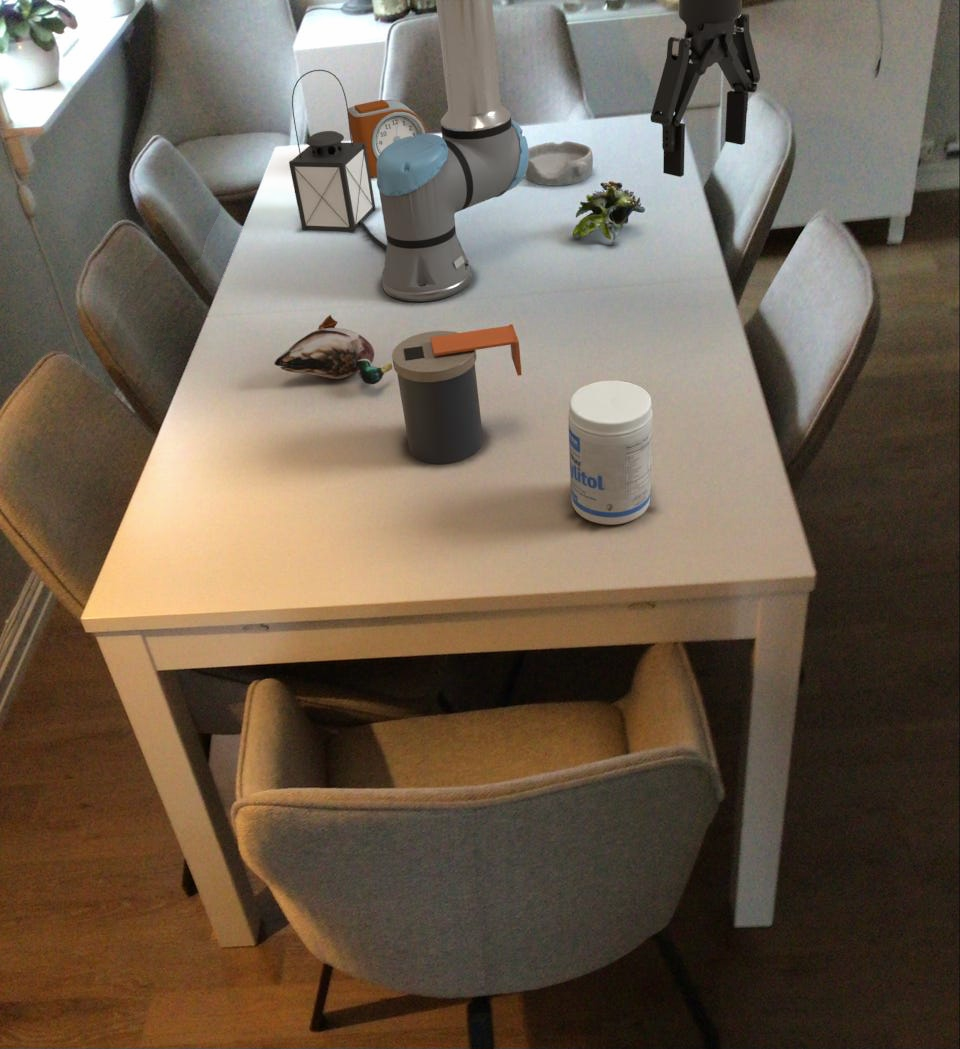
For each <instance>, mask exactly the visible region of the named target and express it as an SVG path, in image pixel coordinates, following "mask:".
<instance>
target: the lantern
mask: <svg viewBox="0 0 960 1049" xmlns="http://www.w3.org/2000/svg"><path fill="white" fill-rule="evenodd" d="M313 72H326V73H329V74H330V75H332V76H333V77H334V78H335V79H336V80H337V82H338V83H339V85H340V87H341V89H342V92H343V96H344V101H345V105H346V112H347V120H348V130H349V137H350V138H349V139H350V142H343V141H344V139H345V136H344V135H343V134H342V133H340V132H338V131H335V130H324V131H319V132H316V133H313V134H311V136H309V137H308V138H307V140H306V145H308V146H307V147H306V148H305V149H304V150H302V151H301V148H300V143H299V142H300V141H299V137H298V136H299V135H298V131H297V124H296V118H295V113H294V111H295V110H294V94H295V90H296V87H297V85H298V83H299V82H300V80H301V79H302V78H303V77H305V76H306V75H308V74H311V73H313ZM348 109H349V106H348V100H347V97H346V92H345V89H344V87H343V85H342V83H341V80H340V79H339V78H338V77H337V76H336V75H335V74H334V73H333V72H331V71H329V70H325V69H314V70H313V69H312V70H310V71H307V72H305V73H304V74H302V75H301V76H300V77H299V78H298V79H297V80H296V82H295V84H294V86H293V90H292V95H291V110H292V118H293V124H294V130H295V137H296V141H297V146H298V155H297V156H295V157H294V158H293V159H291V160H289V161H288V166H289V170H290V175H291V180H292V184H293V185H292V186H293V189H294V194H295V199H296V205H297V208H298V214H299V219H300V226H301V229H302V231H322V232H323V231H325V232H328V231H329V232H350V233H355V232H356V231H357V229H358V228H359V227H361V226H360V224H359V221H360V220H361V221H362V222H363V223H364V222H365V221H366V219H368V218H369V217H370V216H371V214H372V213H373V212H375V211H376V210H377V209H376V203H375V197H374V196H375V195H374V190H373V184H372V183H373V182H372V178H371V176H370V170H369V164H368V157H367V151H366V144H365V143H363V142H361V143H353V142H352V136H351V130H350V121H349V113H348Z"/></svg>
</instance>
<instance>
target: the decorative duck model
mask: <svg viewBox="0 0 960 1049" xmlns="http://www.w3.org/2000/svg"><path fill="white" fill-rule="evenodd" d="M338 322H339V321H337V320H335V319H334V318H333V317H332V314H329V315H328V316H327V317H325V319H324V320H323V321H322V323H321V324H319V325H318V328H317V329H316V330H314V331H312V332H310V333H308V334H307V335H305V336H304V337H302V338H300V339H299V340H297V341H296V342H295V343H293V344H292V345H291V346H290V347H288V348H287V349H286V350H285V351H283V352H282V353H281V354H280V355H279V356H278V357H277V358H276V359H275V361H274V363H273V364H274V366H276V367H277V366H278V367H280V369H281V370H283V371H286V372H290V373H295V374H296V373H297V374H305V375H314V376H319V377H323V378H328V379H335V380H340V379H345V378H348V377H350V376H353V375H354V374H356V373H359V376H360V378H361V380H362V382H364V384H367V385H375V384H377V383H379V382H380V381H381V380H382V379H383V376H384V375H385V374H386V373H388V372H390V371H391V370H393V362H392V363H391V362H390V363H387V364H386V365H384V366H382V367H378V366H374V365H373V366H372V363H373V361H374V358H375V350H374V347H373V345H372V344H371V342H369V341H368V340H367V339H366V338H365V337H363V335H361V334H359V333H358V332H356V331H353V330H351V329H348V328H342V327H336V326H337V324H338Z"/></svg>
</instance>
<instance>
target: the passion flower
mask: <svg viewBox="0 0 960 1049" xmlns="http://www.w3.org/2000/svg"><path fill="white" fill-rule="evenodd" d="M600 186H601V187H602V190H597V191H596V190H594V193H593V192H591V193H592V194H590V193H589V194H586V196H585V197H586V201H579V205H581V206H578V210H577V212H576V213H575V218H578V217H580V216H582V215H583V214H585V213H586V216H584V217H582V219H581V220H579V222H578V224H576V225H575V227H574V229H573V231H572V234H571V235H572V237H573V238H575V239H578V238H579V237H580V238H584V237H586V236H588V235H590V234H591V233H593V232H595V231H597V229H600V228H601V232H602V234H603V236H604V237H605V238H606V239H607V240H611V239H612V238H611V233H612V235H613V239H612V242H611V246H612V247H613V246H614V243H615V241H616V239H617V237H618V234H619V232H620V231H621V229H622V228H623V226H624V225H627V224H628V223H629V217H630V215H631V214H632V213H633V212H636V213H639V214H640V213H641V214H643V213H644V212H645V211H646V208H645V207H644V206H642V203H641V197H638V198H637V199H636V195H634V194H635V191H630V192H629V189H623V183H622V182H615V181H612V180H609V181H608V182H600ZM590 211H591V212H590ZM588 212H590V213H588ZM587 213H588V214H587ZM610 228H611V232H610Z"/></svg>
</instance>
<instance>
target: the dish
mask: <svg viewBox="0 0 960 1049" xmlns="http://www.w3.org/2000/svg"><path fill="white" fill-rule="evenodd" d="M528 151H529V160H528V167H527V171H526V173H525V177H526V178H527V179H528V180H529V181H531V182H532V183H535V184H538V185H545V186H564V185H565V186H566V185H573V184H577V183H579V182H582V181H584V180H586V179H587V178H589V176H591V175H592V174H591V173H592V171H593V166H594V165H593V164H594V157H593V151H592V149H591V147H590V146H588V145H586V144H583V143H579V142H573V141H568V140H566V141H565V140H564V141H563V142H561V143H556V142H554V141H549V142H545V143H541V144H536V145H534V146H532V147H528Z"/></svg>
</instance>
